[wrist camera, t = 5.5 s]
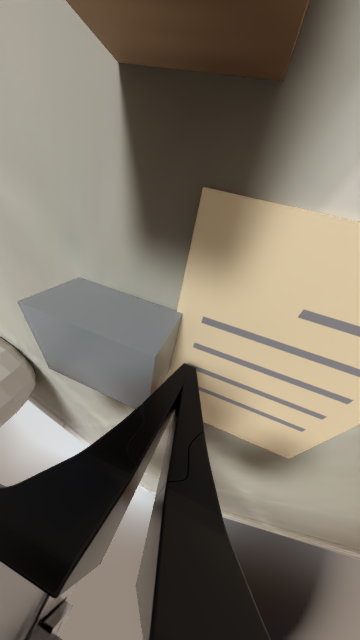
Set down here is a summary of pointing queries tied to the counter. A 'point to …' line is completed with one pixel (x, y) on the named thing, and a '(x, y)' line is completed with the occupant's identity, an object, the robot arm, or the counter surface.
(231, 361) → the letter
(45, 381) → the counter surface
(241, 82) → the counter surface
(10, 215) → the counter surface
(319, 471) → the counter surface
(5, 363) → the soap bottle
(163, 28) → the walnut cube
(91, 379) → the paperweight
